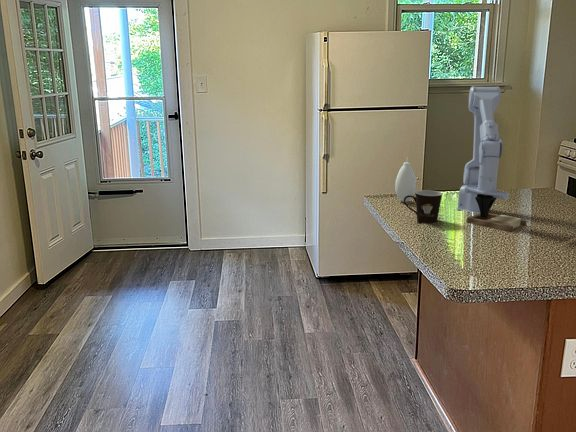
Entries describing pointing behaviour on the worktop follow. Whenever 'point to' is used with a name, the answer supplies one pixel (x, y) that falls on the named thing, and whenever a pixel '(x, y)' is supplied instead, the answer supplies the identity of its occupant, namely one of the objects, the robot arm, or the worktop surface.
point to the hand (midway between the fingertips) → (484, 217)
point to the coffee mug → (426, 205)
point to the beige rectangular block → (507, 220)
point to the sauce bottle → (405, 182)
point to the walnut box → (486, 222)
